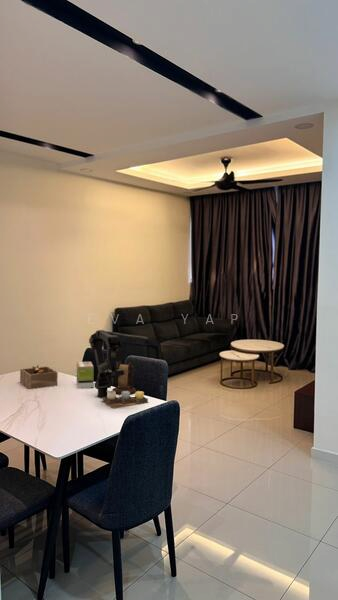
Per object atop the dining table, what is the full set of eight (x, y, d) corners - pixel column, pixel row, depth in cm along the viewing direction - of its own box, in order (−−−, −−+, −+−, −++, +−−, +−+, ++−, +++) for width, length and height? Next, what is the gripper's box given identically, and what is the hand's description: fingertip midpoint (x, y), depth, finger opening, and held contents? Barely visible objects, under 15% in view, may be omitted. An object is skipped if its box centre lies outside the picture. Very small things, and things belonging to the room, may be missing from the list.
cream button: (105, 398, 239) (105, 391, 239) (113, 397, 242) (113, 390, 242) (109, 400, 235) (109, 393, 235) (117, 399, 238) (117, 392, 238)
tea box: (76, 383, 283) (76, 361, 282) (90, 382, 286) (91, 361, 285) (78, 388, 269) (78, 366, 268) (93, 388, 272) (94, 365, 271)
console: (100, 403, 239) (100, 397, 239) (134, 397, 252) (134, 392, 252) (113, 410, 226) (113, 404, 226) (148, 404, 239) (149, 398, 239)
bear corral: (20, 382, 280) (20, 369, 279) (47, 379, 291) (47, 366, 290) (29, 389, 264) (29, 375, 263) (57, 385, 275) (57, 372, 274)
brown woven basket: (108, 395, 255) (109, 363, 254) (117, 389, 270) (118, 359, 269) (131, 398, 252) (132, 365, 251) (138, 391, 266) (139, 360, 265)
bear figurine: (33, 388, 268) (33, 369, 267) (26, 382, 280) (26, 365, 279) (53, 385, 276) (54, 367, 275) (46, 380, 288) (46, 363, 287)
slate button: (119, 398, 240) (119, 391, 240) (126, 397, 243) (127, 390, 242) (123, 400, 236) (124, 393, 236) (131, 399, 239) (131, 392, 238)
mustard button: (133, 398, 241) (133, 391, 240) (140, 397, 243) (140, 390, 243) (138, 400, 237) (138, 393, 237) (145, 399, 240) (145, 392, 239)
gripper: (92, 356, 240) (91, 383, 241) (107, 362, 225) (106, 390, 226) (109, 354, 247) (108, 380, 247) (125, 360, 231) (124, 388, 232)
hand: (111, 384), depth 238 cm, fingers open, 4 cm apart
